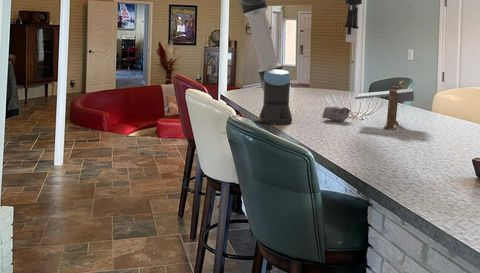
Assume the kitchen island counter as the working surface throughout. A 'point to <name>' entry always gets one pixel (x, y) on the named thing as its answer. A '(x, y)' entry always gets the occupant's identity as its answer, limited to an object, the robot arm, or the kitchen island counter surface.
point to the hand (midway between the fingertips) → (350, 42)
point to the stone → (336, 113)
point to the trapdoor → (401, 95)
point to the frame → (392, 110)
